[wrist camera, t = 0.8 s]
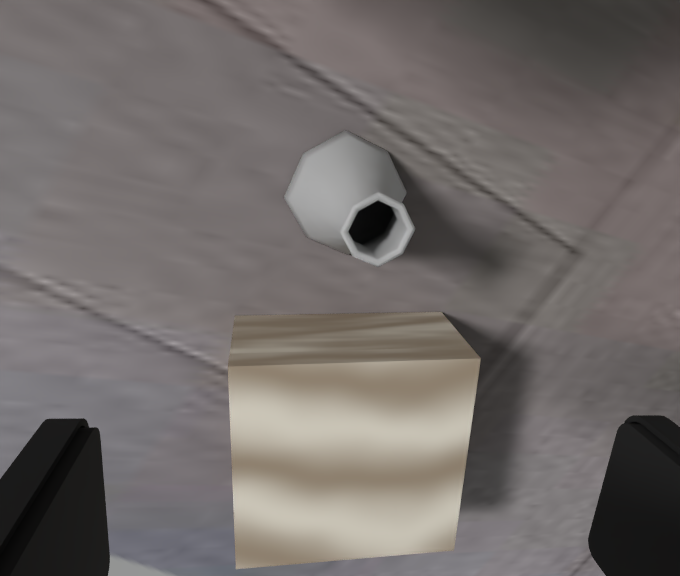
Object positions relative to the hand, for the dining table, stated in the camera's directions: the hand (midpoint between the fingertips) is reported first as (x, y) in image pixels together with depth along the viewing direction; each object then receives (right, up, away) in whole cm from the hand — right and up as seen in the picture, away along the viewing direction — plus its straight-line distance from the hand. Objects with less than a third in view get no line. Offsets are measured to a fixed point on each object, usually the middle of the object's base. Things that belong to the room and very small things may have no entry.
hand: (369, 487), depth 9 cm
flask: (0, +9, +23) cm, 25 cm away
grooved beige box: (-1, -5, +28) cm, 28 cm away
